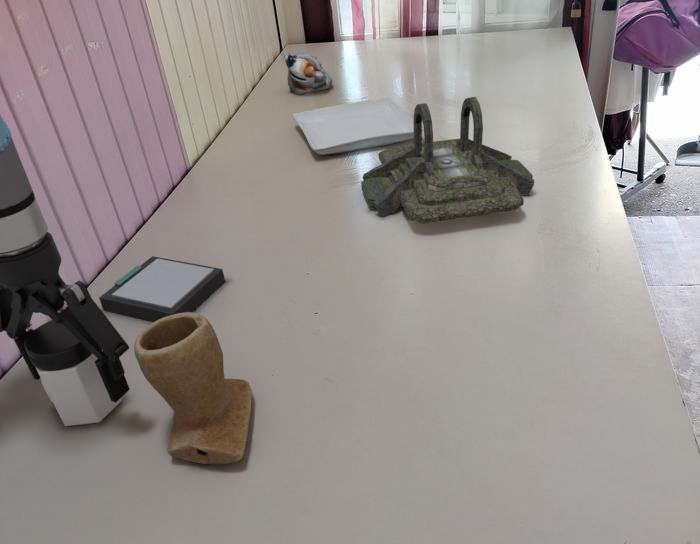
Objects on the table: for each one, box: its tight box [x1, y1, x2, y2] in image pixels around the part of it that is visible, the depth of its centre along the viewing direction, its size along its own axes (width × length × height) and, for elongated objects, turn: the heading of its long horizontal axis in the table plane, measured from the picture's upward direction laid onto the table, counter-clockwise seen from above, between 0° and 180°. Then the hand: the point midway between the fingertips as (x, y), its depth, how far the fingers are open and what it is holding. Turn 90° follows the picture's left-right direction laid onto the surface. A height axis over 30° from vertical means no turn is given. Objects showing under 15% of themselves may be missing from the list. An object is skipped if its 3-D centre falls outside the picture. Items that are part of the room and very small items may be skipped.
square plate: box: [291, 97, 424, 155], centre depth 159 cm, size 27×27×4 cm
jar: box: [24, 319, 123, 427], centre depth 83 cm, size 9×8×12 cm
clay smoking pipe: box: [133, 311, 253, 465], centre depth 77 cm, size 15×12×15 cm
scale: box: [98, 255, 226, 323], centre depth 106 cm, size 15×14×3 cm
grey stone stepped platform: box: [360, 96, 535, 225], centre depth 125 cm, size 35×34×18 cm
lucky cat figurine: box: [283, 52, 333, 95], centre depth 189 cm, size 15×12×14 cm
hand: (81, 384), depth 84 cm, fingers open, 13 cm apart
